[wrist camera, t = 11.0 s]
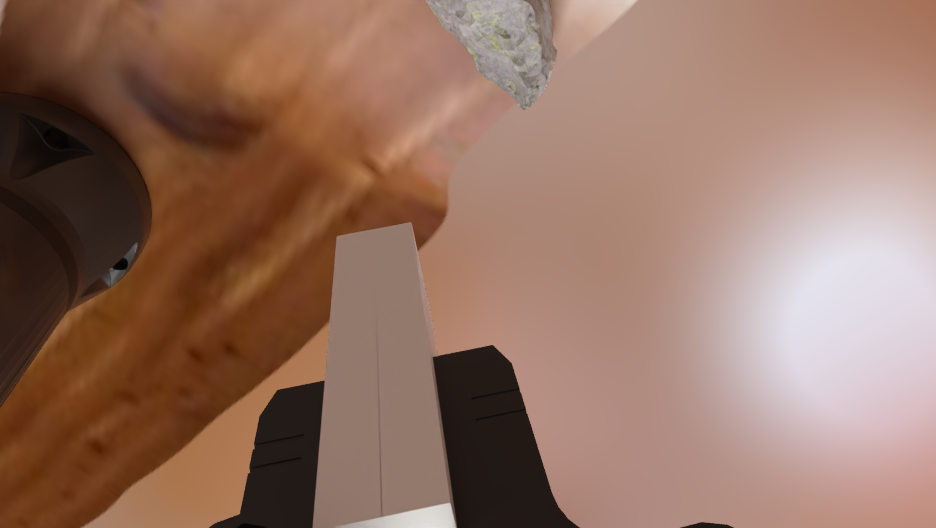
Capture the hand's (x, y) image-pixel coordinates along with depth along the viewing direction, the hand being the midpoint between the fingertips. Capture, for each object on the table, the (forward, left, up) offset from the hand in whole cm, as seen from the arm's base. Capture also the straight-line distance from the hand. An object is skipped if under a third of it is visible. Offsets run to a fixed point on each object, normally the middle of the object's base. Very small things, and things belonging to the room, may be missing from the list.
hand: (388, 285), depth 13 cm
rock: (+6, +2, -33) cm, 33 cm away
